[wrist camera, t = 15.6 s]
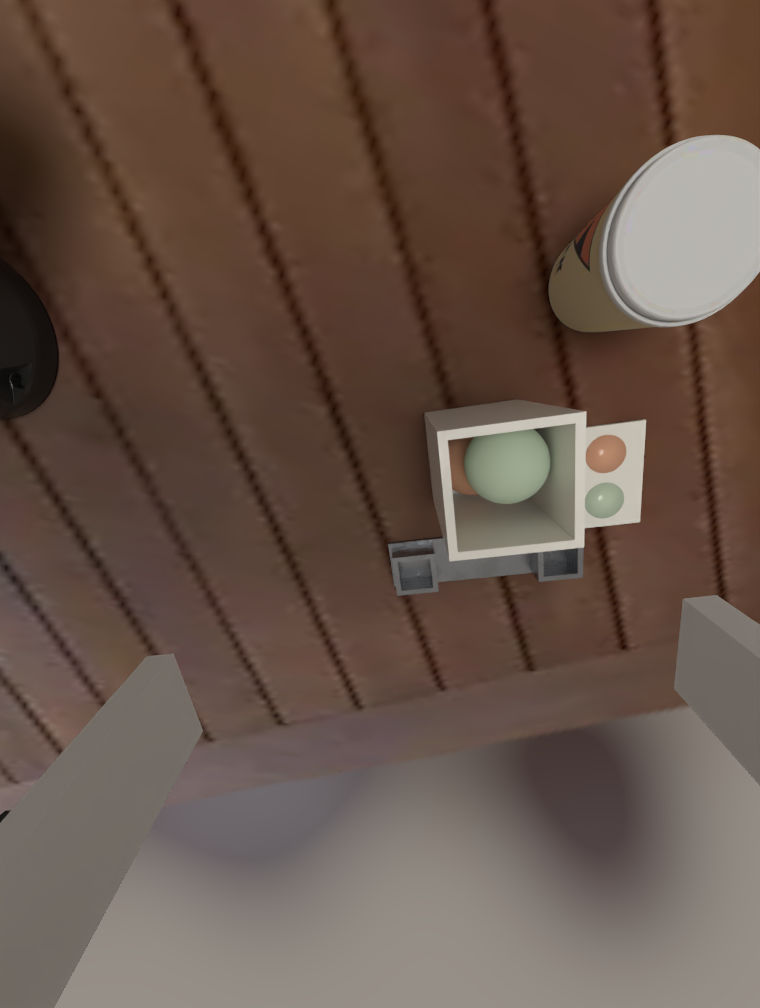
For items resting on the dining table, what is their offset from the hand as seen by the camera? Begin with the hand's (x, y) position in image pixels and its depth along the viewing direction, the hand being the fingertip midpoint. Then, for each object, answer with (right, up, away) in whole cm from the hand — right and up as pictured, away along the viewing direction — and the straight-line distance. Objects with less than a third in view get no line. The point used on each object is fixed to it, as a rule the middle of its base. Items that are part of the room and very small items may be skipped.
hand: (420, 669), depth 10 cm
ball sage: (+6, +7, +21) cm, 23 cm away
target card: (+20, +7, +28) cm, 35 cm away
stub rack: (+10, -1, +31) cm, 32 cm away
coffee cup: (+17, +23, +23) cm, 37 cm away
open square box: (+8, +9, +27) cm, 30 cm away
